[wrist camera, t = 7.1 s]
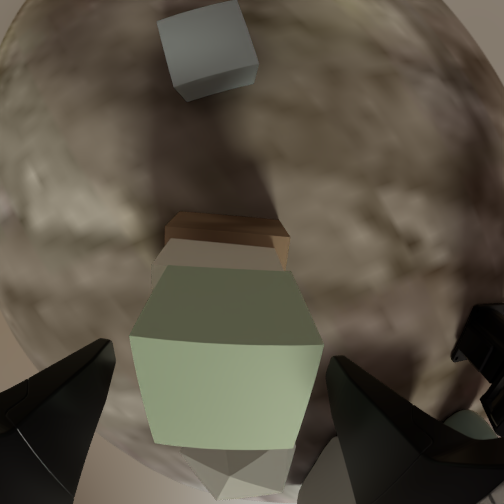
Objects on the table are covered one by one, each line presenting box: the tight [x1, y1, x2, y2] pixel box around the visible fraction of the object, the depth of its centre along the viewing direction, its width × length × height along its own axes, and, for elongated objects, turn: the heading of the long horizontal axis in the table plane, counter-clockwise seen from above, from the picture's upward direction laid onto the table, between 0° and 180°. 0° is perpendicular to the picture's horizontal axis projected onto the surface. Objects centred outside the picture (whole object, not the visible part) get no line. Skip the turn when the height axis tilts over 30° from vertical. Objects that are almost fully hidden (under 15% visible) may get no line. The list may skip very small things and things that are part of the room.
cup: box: [444, 409, 498, 440], centre depth 23 cm, size 8×8×10 cm
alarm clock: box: [297, 436, 356, 504], centre depth 21 cm, size 21×10×13 cm, turn 173°
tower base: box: [164, 211, 290, 271], centre depth 16 cm, size 6×6×4 cm
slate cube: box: [157, 0, 259, 102], centre depth 12 cm, size 4×4×4 cm
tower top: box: [151, 238, 284, 292], centre depth 13 cm, size 5×5×4 cm
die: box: [179, 444, 296, 500], centre depth 19 cm, size 8×9×10 cm
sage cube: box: [129, 265, 324, 450], centre depth 9 cm, size 4×4×4 cm
